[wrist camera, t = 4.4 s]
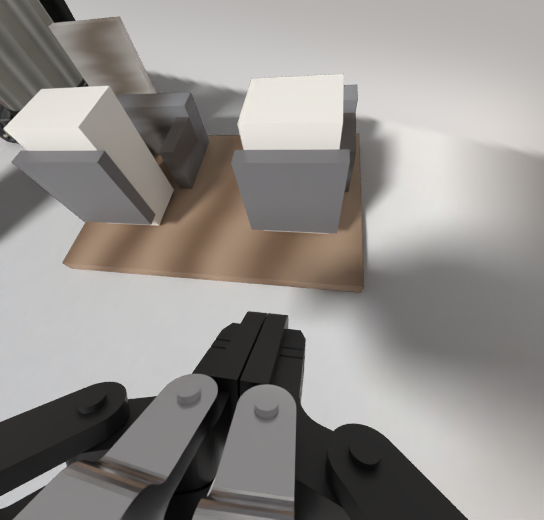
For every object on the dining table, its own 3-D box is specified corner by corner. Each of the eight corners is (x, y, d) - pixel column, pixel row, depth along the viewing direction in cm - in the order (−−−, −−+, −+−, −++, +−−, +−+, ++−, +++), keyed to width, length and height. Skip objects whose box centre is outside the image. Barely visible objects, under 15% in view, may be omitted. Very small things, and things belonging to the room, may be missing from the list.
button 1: (255, 240, 20) (222, 137, 12) (264, 192, 22) (242, 79, 15) (334, 245, 19) (354, 135, 11) (336, 193, 22) (353, 73, 14)
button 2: (96, 232, 22) (-15, 140, 15) (120, 188, 25) (34, 89, 17) (160, 235, 22) (77, 139, 14) (178, 190, 24) (116, 85, 16)
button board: (61, 267, 23) (-117, 168, 13) (133, 142, 30) (53, 22, 21) (360, 292, 19) (418, 173, 9) (357, 140, 26) (386, -12, 17)
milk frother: (126, 153, 30) (-13, -40, 17) (-13, 193, 29) (-268, 24, 16) (126, 90, 37) (28, -81, 24) (14, 120, 36) (-148, -38, 23)
